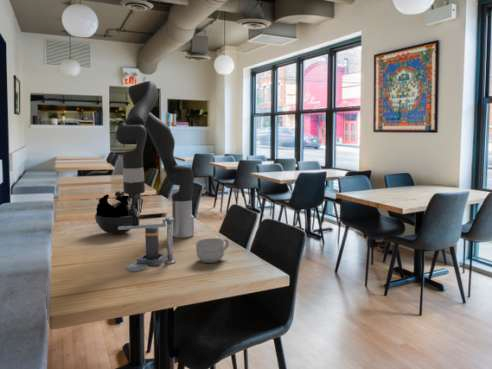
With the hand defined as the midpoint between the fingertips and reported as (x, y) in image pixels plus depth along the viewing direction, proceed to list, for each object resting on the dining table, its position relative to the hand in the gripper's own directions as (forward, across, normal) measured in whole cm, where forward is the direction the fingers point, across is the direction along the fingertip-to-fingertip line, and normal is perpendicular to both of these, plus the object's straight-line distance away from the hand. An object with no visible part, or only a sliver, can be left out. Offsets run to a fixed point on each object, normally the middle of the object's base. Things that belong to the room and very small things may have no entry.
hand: (135, 226), depth 160 cm
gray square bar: (0, 0, +4) cm, 4 cm away
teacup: (+15, -6, +28) cm, 32 cm away
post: (+14, -2, +12) cm, 19 cm away
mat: (+14, +5, +1) cm, 15 cm away
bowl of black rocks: (+16, -45, -24) cm, 54 cm away
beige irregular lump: (+17, -72, -30) cm, 80 cm away
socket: (+14, -3, +5) cm, 16 cm away
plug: (+14, -3, +5) cm, 16 cm away
